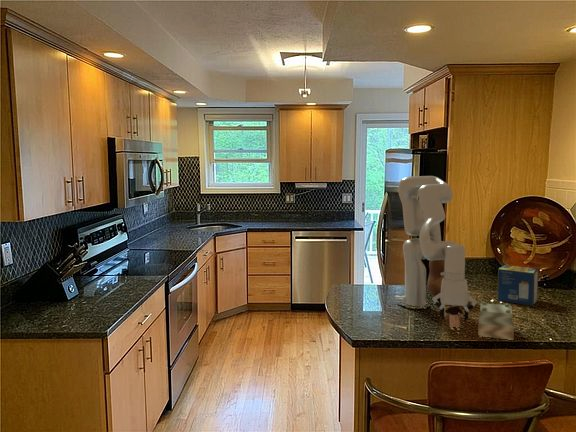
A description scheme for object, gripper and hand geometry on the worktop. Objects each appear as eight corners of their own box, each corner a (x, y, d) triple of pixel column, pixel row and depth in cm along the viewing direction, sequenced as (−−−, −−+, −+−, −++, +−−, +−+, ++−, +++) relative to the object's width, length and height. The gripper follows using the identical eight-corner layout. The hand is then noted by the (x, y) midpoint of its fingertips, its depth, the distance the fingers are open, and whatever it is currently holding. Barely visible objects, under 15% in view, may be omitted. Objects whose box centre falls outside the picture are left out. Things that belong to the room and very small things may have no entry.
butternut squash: (459, 302, 216) (460, 250, 213) (431, 302, 216) (431, 250, 214) (449, 294, 230) (450, 245, 227) (423, 294, 230) (423, 245, 227)
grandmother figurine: (461, 327, 182) (461, 296, 181) (465, 330, 179) (465, 299, 177) (442, 327, 182) (442, 297, 181) (445, 331, 178) (446, 299, 177)
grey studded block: (478, 337, 171) (478, 309, 170) (478, 326, 182) (478, 300, 181) (513, 341, 167) (514, 312, 166) (511, 330, 178) (512, 303, 177)
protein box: (502, 295, 225) (503, 264, 223) (537, 300, 215) (538, 268, 214) (496, 300, 217) (497, 268, 215) (532, 306, 207) (533, 272, 206)
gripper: (430, 276, 178) (430, 320, 180) (478, 279, 171) (477, 325, 173) (432, 272, 185) (431, 314, 187) (478, 275, 178) (477, 319, 180)
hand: (454, 319), depth 180 cm, fingers closed on grandmother figurine, 7 cm apart
